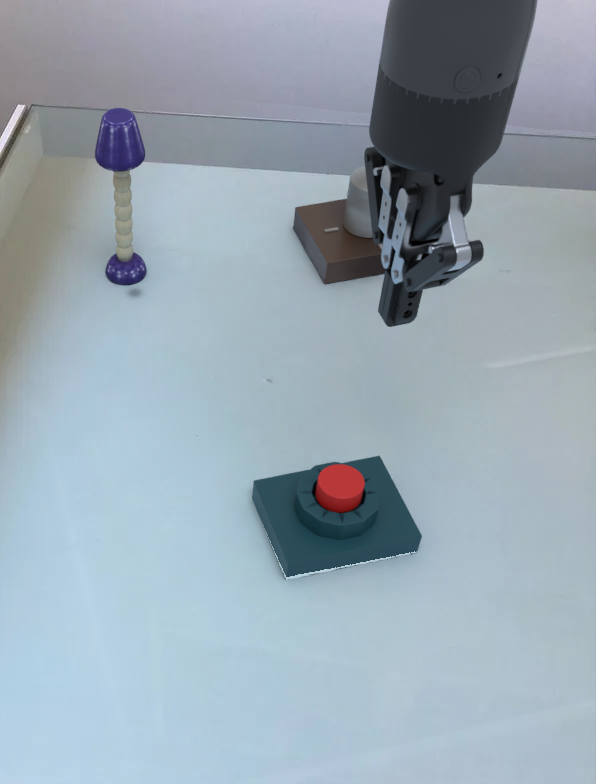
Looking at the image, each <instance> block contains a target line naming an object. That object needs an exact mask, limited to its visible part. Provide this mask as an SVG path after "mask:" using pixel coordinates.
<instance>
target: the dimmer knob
mask: <svg viewBox="0 0 596 784" xmlns="http://www.w3.org/2000/svg"><path fill="white" fill-rule="evenodd" d="M346 194H347V195H346V199H347V200H346V206H345V213H344V219H343V225H344V227H345V229H346V230H347V231H348V232H349V233H351V234H353V235H355V236H358V237H363V238H373V236H372V226H371V217H370V207H369V198H368V189H367V179H366V170H365V165H363V166H360V167H357V168H355V169H354V170H353V171H352V172H351V173H350V176H349V181H348V188H347V193H346Z"/></svg>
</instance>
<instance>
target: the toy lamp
mask: <svg viewBox="0 0 596 784" xmlns="http://www.w3.org/2000/svg"><path fill="white" fill-rule="evenodd" d="M94 158H95V161H96V163H97V164H98V165H99V166H100V167H102V169H104V170H107V171H111V172H112V173H113V176H112V185H113V188H114V191H113V199H114V203H115V204H114V209H113V210H114V215H115V219H114V229H115V231H116V232H115V242H116V248H115V253H114V254H113V255H112V256H110V258H109V259H108V260H107V263H106V265H105V275H106V277H107V279H108V280H109V281H110V282H112V283H114V284H117V285H124V286H126V285H127V286H128V285H129V286H130V285H133V284H136V283H139V282H141V281H142V280H143V279H144V278H145V277H146V275H147V266H146V262H145V261H144V259H143V257H142V256H141V255H140V254H138V253H136V252H135V251H134V246H133V242H134V241H133V240H134V236H133V231H132V230H133V225H134V222H133V221H134V220H133V218H132V215H133V204H132V202H131V201H132V198H133V193H132V189H131V186H132V176H131V174H130V172H131V170H134V169H136V168H138V167H140V166H141V165H142V164H143V162H144V161H145V159H146V149H145V144H144V140H143V138H142V134H141V131H140V128H139V124H138V121H137V118H136V116H135V114H134V113H133V112H132V110H129V109H128V108H124V107H114V108H110V109H108V110H106V111H105V112H104V113H103V115H102V116H101V119H100V124H99V129H98V135H97V139H96V143H95V149H94Z"/></svg>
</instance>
